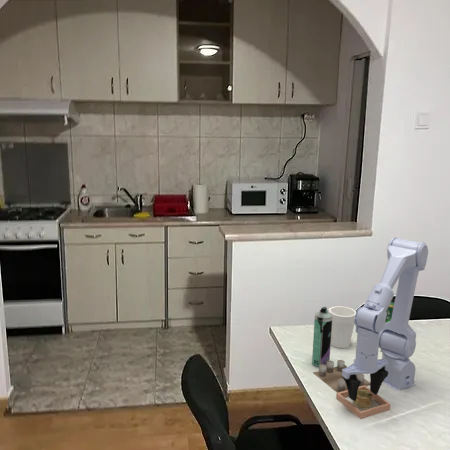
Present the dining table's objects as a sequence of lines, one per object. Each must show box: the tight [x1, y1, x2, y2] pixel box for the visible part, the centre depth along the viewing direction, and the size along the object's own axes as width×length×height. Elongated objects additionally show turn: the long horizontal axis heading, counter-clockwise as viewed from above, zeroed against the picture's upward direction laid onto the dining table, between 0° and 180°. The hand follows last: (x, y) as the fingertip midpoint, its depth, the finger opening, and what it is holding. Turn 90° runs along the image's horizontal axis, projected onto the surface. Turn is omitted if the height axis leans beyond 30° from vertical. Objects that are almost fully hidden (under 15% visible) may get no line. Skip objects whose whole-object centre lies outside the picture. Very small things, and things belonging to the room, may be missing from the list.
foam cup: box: [327, 305, 357, 349], centre depth 162 cm, size 10×9×13 cm
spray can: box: [311, 306, 332, 369], centre depth 147 cm, size 6×6×20 cm
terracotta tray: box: [335, 385, 391, 419], centre depth 127 cm, size 10×10×2 cm
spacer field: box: [312, 359, 370, 393], centre depth 140 cm, size 13×12×4 cm
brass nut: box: [352, 389, 373, 410], centre depth 127 cm, size 4×5×3 cm
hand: (363, 395), depth 127 cm, fingers open, 7 cm apart
